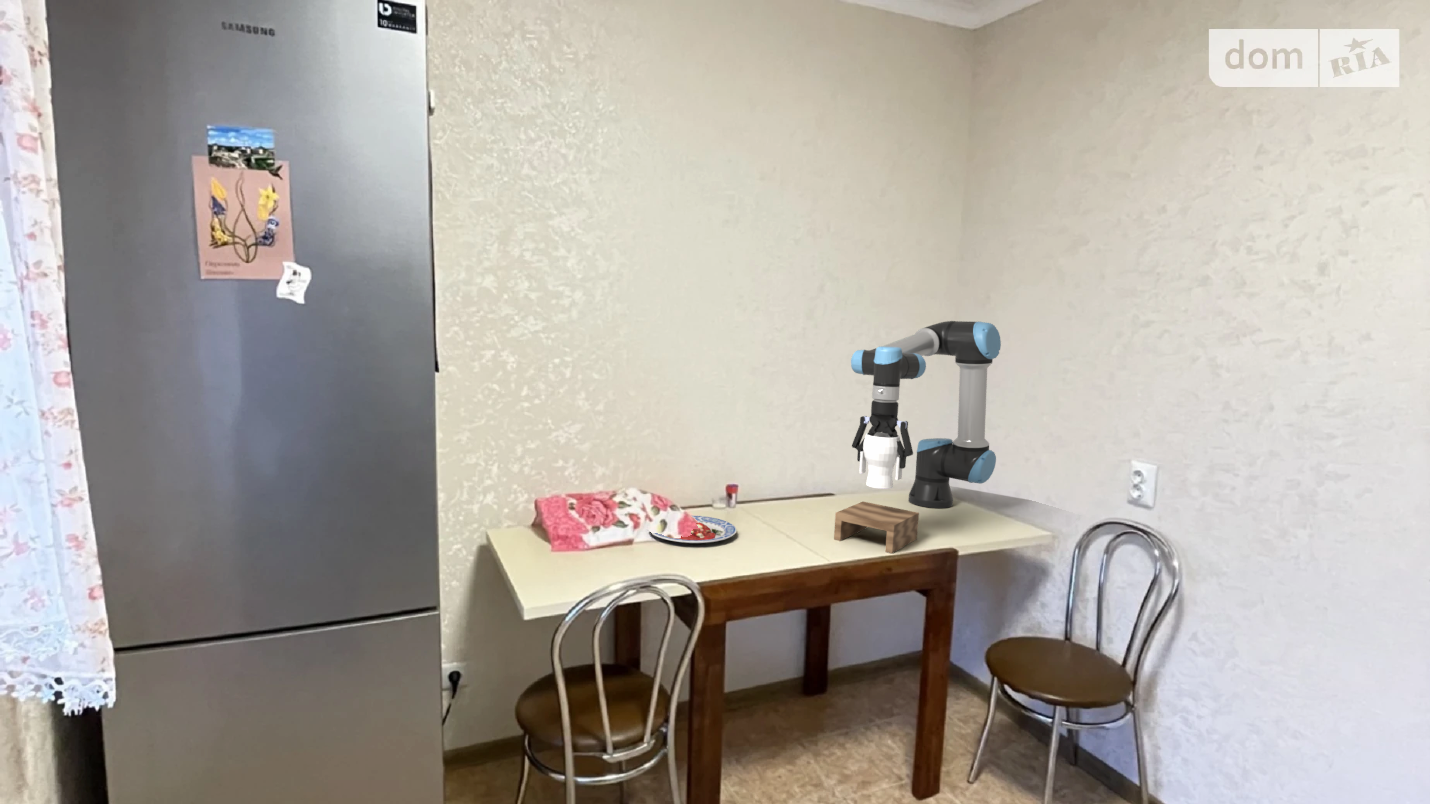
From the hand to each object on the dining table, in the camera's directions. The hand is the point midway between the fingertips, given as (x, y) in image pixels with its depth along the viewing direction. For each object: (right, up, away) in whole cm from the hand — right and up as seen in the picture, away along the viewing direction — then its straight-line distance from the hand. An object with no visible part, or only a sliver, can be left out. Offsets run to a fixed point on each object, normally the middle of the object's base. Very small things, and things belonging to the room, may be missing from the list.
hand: (880, 476), depth 211 cm
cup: (0, -3, 0) cm, 3 cm away
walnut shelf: (-1, -19, +2) cm, 19 cm away
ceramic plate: (-55, -17, +1) cm, 57 cm away
